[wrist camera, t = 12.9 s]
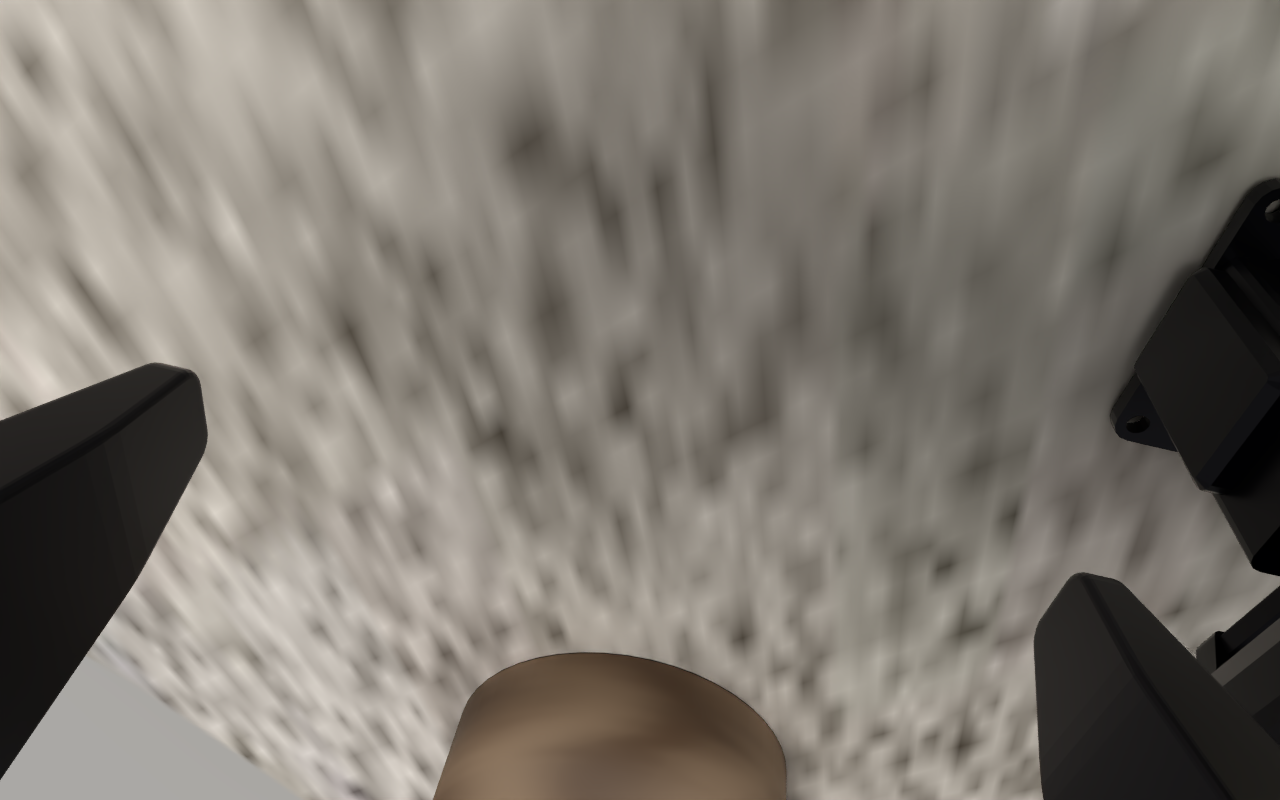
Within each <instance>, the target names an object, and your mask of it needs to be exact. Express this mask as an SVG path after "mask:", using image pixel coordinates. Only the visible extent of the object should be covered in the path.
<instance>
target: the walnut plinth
mask: <svg viewBox="0 0 1280 800" xmlns="http://www.w3.org/2000/svg"><path fill="white" fill-rule="evenodd" d="M433 800H786V763H785V758H784V755H783V752H782V748H781V746H780V744H779V742H778V740H777V739H776V737H775V735H774V733H773V732H772V731H771V729H770V728H769V727H768V725H767V724H766V723H765V722H764V720H763V719H762V718H761V717H760V716H759V715H758V714H756V713H755V712H754V711H753V710H752V709H751V708H750V707H749V706H748V705H746V704H745V703H744V702H742V701H741V700H740V699H738V698H737V697H736V696H734V695H733V694H731V693H729V692H728V691H726V690H724V689H723V688H721V687H719V686H718V685H716V684H714V683H712V682H710V681H708V680H705V679H703V678H701V677H699V676H697V675H695V674H692V673H689V672H687V671H684V670H681V669H678V668H676V667H673V666H669V665H665V664H662V663H658V662H655V661H651V660H646V659H640V658H635V657H630V656H622V655H613V654H602V653H575V654H562V655H554V656H548V657H542V658H537V659H533V660H530V661H526V662H523V663H519V664H517V665H514V666H512V667H510V668H507V669H505V670H503V671H501V672H499V673H498V674H496V675H494V676H493V677H491V678H489V679H488V680H487V681H486V682H484V683H483V684H482V685H481V686H480V687H479V688H478V689H477V690H476V691H475V692H474V693H473V695H472V696H471V697H470V699H469V700H468V702H467V704H466V706H465V708H464V710H463V713H462V716H461V719H460V722H459V725H458V728H457V731H456V733H455V736H454V739H453V742H452V745H451V748H450V751H449V754H448V757H447V760H446V763H445V766H444V769H443V772H442V775H441V778H440V781H439V783H438V786H437V789H436V792H435V795H434V798H433Z"/></svg>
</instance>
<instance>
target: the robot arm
mask: <svg viewBox="0 0 1280 800" xmlns="http://www.w3.org/2000/svg"><path fill="white" fill-rule="evenodd" d="M1278 199H1280V179H1273V180H1269V181H1266V182H1263V183H1262V184H1260V185H1259V186H1257V187H1255V188H1254V189H1253V190H1252V191H1251V192H1250V193H1249V195H1248V196H1247V197H1246V198H1245V200H1244V202H1243V203H1242V205H1241V206H1240V208H1239V209H1238V211H1237V213H1236V214H1235V216H1234V217H1233V219H1232V221H1231V222H1230V224H1229V225H1228V227H1227V228H1226V230H1225V232H1224V233H1223V235H1222V236H1221V238H1220V240H1219V241H1218V243H1217V244H1216V246H1215V248H1214V249H1213V251H1212V252H1211V254H1210V255H1209V257H1208V259H1207V260H1206V262H1205V263H1204V265H1203V267H1202V268H1201V269H1199V270H1198V271H1196V272H1195V273H1193V274H1192V275H1191V276H1190V277H1189V278H1188V280H1187V281H1186V283H1185V285H1184V286H1183V288H1182V289H1181V291H1180V293H1179V294H1178V296H1177V297H1176V299H1175V301H1174V302H1173V304H1172V305H1171V307H1170V309H1169V310H1168V312H1167V313H1166V315H1165V317H1164V318H1163V320H1162V321H1161V323H1160V325H1159V326H1158V328H1157V329H1156V331H1155V333H1154V334H1153V336H1152V337H1151V339H1150V341H1149V342H1148V344H1147V345H1146V347H1145V349H1144V350H1143V352H1142V353H1141V355H1140V357H1139V358H1138V360H1137V361H1136V363H1135V365H1134V369H1135V371H1136V373H1135V374H1134V376H1133V377H1132V379H1131V381H1130V382H1129V384H1128V385H1127V387H1126V389H1125V390H1124V392H1123V393H1122V395H1121V396H1120V398H1119V400H1118V401H1117V403H1116V404H1115V406H1114V408H1113V409H1112V412H1111V414H1110V419H1111V423H1112V425H1113V428H1114V430H1115V432H1116V433H1117V435H1118V436H1119V437H1120V438H1122V439H1125V440H1127V441H1131V442H1136V443H1140V444H1144V445H1149V446H1153V447H1158V448H1162V449H1166V450H1171V451H1175V452H1178V453H1179V455H1180V457H1181V458H1182V460H1183V462H1184V464H1185V466H1186V468H1187V470H1188V472H1189V474H1190V475H1191V477H1192V479H1193V481H1194V483H1195V485H1196V487H1197V488H1199V489H1200V490H1202V491H1206V492H1210V493H1212V494H1213V496H1214V498H1215V500H1216V502H1217V503H1218V505H1219V507H1220V509H1221V511H1222V513H1223V514H1224V516H1225V518H1226V520H1227V522H1228V523H1229V525H1230V527H1231V529H1232V531H1233V533H1234V534H1235V536H1236V538H1237V540H1238V542H1239V544H1240V545H1241V547H1242V549H1243V551H1244V553H1245V555H1246V556H1247V558H1248V560H1249V562H1250V564H1251V565H1252V567H1253V569H1255V570H1257V571H1259V572H1263V573H1267V574H1272V575H1276V576H1280V209H1279V210H1278V211H1276V212H1274V213H1272V214H1265V211H1266V208H1267V207H1268V206H1269V205H1270V204H1271V203H1272V202H1274V201H1276V200H1278ZM1135 416H1144V417H1143V418H1142V419H1141V420H1139V421H1137V422H1134V423H1127V422H1128V421H1129V420H1130V419H1131V418H1133V417H1135ZM207 437H208V432H207V424H206V417H205V411H204V404H203V397H202V390H201V384H200V380H199V378H198V376H197V375H196V374H195V373H194V372H193V371H191V370H189V369H185V368H181V367H176V366H172V365H167V364H163V363H150V364H147V365H144V366H141V367H138V368H136V369H133V370H131V371H128V372H125V373H123V374H120V375H118V376H115V377H113V378H110V379H107V380H105V381H102V382H100V383H97V384H94V385H92V386H89V387H87V388H84V389H81V390H79V391H76V392H74V393H71V394H68V395H66V396H63V397H61V398H58V399H55V400H53V401H50V402H48V403H45V404H43V405H40V406H37V407H35V408H32V409H30V410H27V411H24V412H22V413H19V414H17V415H14V416H11V417H9V418H6V419H4V420H1V421H0V780H1V778H2V777H3V775H4V774H5V772H6V771H7V769H8V768H9V766H10V765H11V763H12V762H13V761H14V759H15V758H16V756H17V755H18V753H19V752H20V750H21V749H22V747H23V746H24V745H25V743H26V742H27V740H28V739H29V737H30V736H31V734H32V733H33V731H34V730H35V728H36V727H37V725H38V724H39V723H40V721H41V720H42V718H43V717H44V715H45V714H46V712H47V711H48V709H49V708H50V706H51V705H52V704H53V702H54V701H55V699H56V698H57V696H58V695H59V693H60V692H61V690H62V689H63V688H64V686H65V685H66V683H67V682H68V680H69V679H70V677H71V676H72V674H73V673H74V671H75V670H76V669H77V667H78V666H79V664H80V662H81V661H82V660H83V658H84V657H85V655H86V654H87V652H88V651H89V650H90V648H91V647H92V645H93V644H94V642H95V641H96V639H97V638H98V636H99V635H100V633H101V632H102V631H103V629H104V628H105V626H106V625H107V623H108V622H109V620H110V619H111V617H112V616H113V614H114V613H115V612H116V610H117V609H118V607H119V606H120V604H121V603H122V601H123V600H124V598H125V597H126V595H127V594H128V592H129V591H130V589H131V588H132V586H133V584H134V583H135V581H136V580H137V578H138V576H139V575H140V573H141V571H142V569H143V568H144V566H145V564H146V562H147V561H148V559H149V557H150V555H151V553H152V551H153V549H154V547H155V545H156V544H157V542H158V540H159V538H160V536H161V534H162V532H163V530H164V528H165V527H166V525H167V523H168V521H169V519H170V517H171V515H172V513H173V511H174V509H175V508H176V506H177V504H178V502H179V500H180V498H181V496H182V494H183V492H184V491H185V489H186V487H187V485H188V483H189V481H190V479H191V477H192V475H193V473H194V472H195V470H196V468H197V466H198V464H199V462H200V460H201V458H202V456H203V454H204V451H205V448H206V444H207ZM1034 661H1035V681H1036V701H1037V721H1038V740H1039V760H1040V773H1041V785H1042V792H1043V799H1044V800H1280V586H1279V587H1278V588H1276V589H1275V590H1274V591H1273V592H1272V593H1271V594H1269V595H1268V596H1267V597H1266V598H1265V599H1263V600H1262V601H1261V602H1260V603H1259V604H1258V605H1256V606H1255V607H1254V608H1253V609H1252V610H1250V611H1249V612H1248V613H1247V614H1246V615H1245V616H1243V617H1242V618H1241V619H1240V620H1239V621H1237V622H1236V623H1235V624H1234V625H1233V626H1232V627H1230V628H1229V629H1228V630H1227V631H1226V632H1221V631H1217V632H1215V633H1214V634H1213V635H1212V636H1210V637H1209V638H1208V639H1207V640H1206V641H1205V642H1203V643H1202V644H1201V645H1200V646H1199V647H1197V650H1196V659H1195V657H1194V656H1193V655H1192V654H1191V653H1190V652H1189V651H1188V650H1187V649H1186V648H1185V647H1184V646H1183V645H1182V644H1181V643H1180V642H1179V641H1178V640H1177V639H1176V638H1175V637H1174V636H1173V635H1172V634H1171V633H1170V632H1169V631H1168V630H1167V629H1166V628H1165V626H1164V625H1163V624H1162V623H1161V622H1160V621H1159V620H1158V619H1157V618H1156V617H1155V616H1154V615H1153V614H1152V613H1151V612H1150V611H1149V610H1148V609H1147V608H1146V607H1145V606H1144V605H1143V604H1142V603H1141V602H1140V601H1139V600H1138V599H1137V598H1136V597H1135V595H1134V594H1133V593H1132V592H1131V591H1130V590H1129V589H1128V588H1127V587H1126V586H1125V585H1124V584H1122V583H1121V582H1119V581H1117V580H1115V579H1112V578H1107V577H1103V576H1098V575H1094V574H1090V573H1085V572H1082V573H1076V574H1074V575H1073V576H1071V577H1070V578H1069V579H1068V581H1067V582H1066V583H1065V585H1064V586H1063V588H1062V589H1061V591H1060V592H1059V593H1058V595H1057V596H1056V598H1055V599H1054V601H1053V602H1052V604H1051V605H1050V606H1049V608H1048V609H1047V611H1046V612H1045V614H1044V615H1043V617H1042V618H1041V619H1040V621H1039V623H1038V626H1037V628H1036V632H1035V636H1034Z"/></svg>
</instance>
